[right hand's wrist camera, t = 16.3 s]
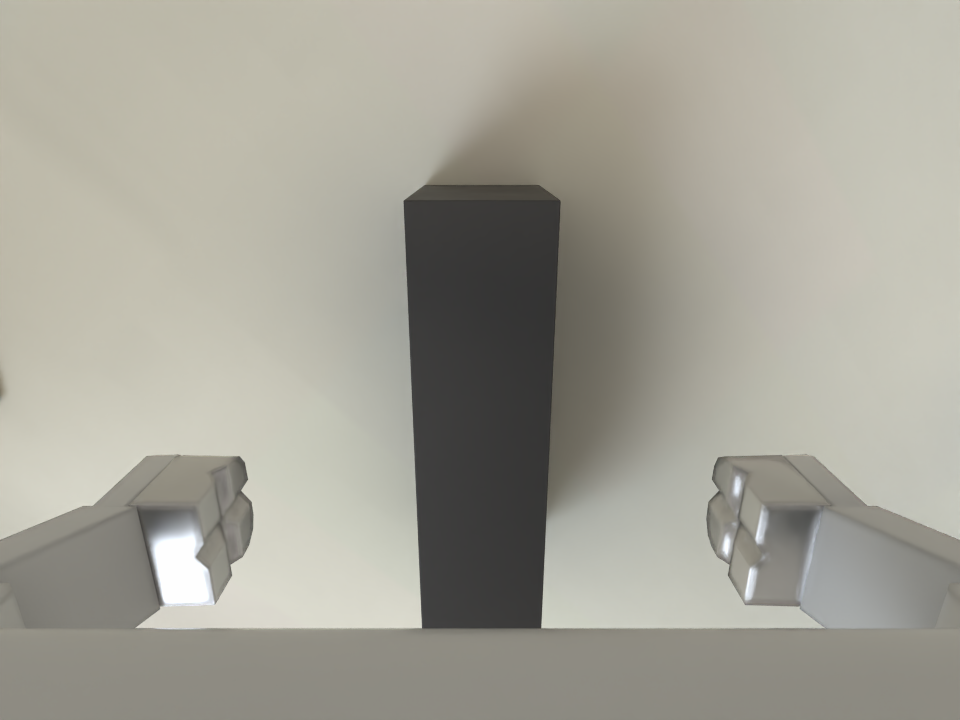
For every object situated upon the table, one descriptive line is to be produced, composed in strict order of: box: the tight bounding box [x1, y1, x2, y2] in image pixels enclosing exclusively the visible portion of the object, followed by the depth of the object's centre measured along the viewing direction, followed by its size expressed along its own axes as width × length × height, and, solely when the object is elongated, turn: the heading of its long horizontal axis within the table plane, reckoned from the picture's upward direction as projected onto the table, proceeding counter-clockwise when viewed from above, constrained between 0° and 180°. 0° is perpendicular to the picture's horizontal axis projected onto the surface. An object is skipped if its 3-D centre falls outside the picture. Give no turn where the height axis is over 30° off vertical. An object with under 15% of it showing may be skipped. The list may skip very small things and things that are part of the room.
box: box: [404, 185, 560, 628], centre depth 32 cm, size 23×6×9 cm, turn 0°
